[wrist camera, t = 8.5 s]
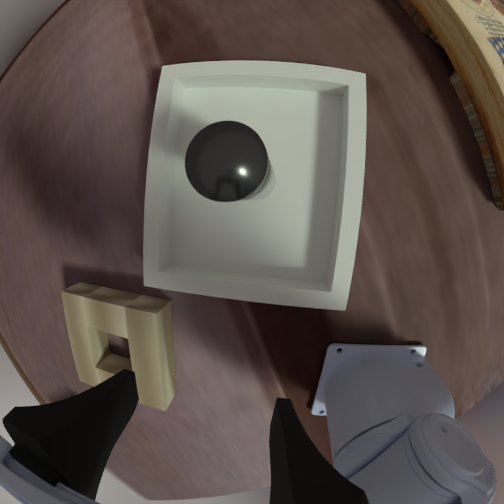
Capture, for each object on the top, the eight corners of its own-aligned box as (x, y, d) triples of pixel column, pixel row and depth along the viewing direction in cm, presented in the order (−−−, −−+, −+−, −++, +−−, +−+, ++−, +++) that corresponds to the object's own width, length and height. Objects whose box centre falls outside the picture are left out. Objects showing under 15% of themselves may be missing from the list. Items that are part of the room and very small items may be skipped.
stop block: (171, 299, 22) (156, 313, 19) (176, 392, 24) (165, 411, 21) (81, 281, 23) (61, 290, 20) (94, 367, 25) (80, 380, 22)
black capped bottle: (280, 161, 18) (274, 126, 9) (272, 205, 19) (258, 209, 10) (236, 153, 18) (193, 117, 9) (228, 196, 19) (178, 195, 10)
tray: (355, 89, 17) (365, 73, 14) (337, 295, 20) (345, 310, 17) (176, 80, 18) (162, 65, 16) (160, 275, 22) (143, 285, 19)
